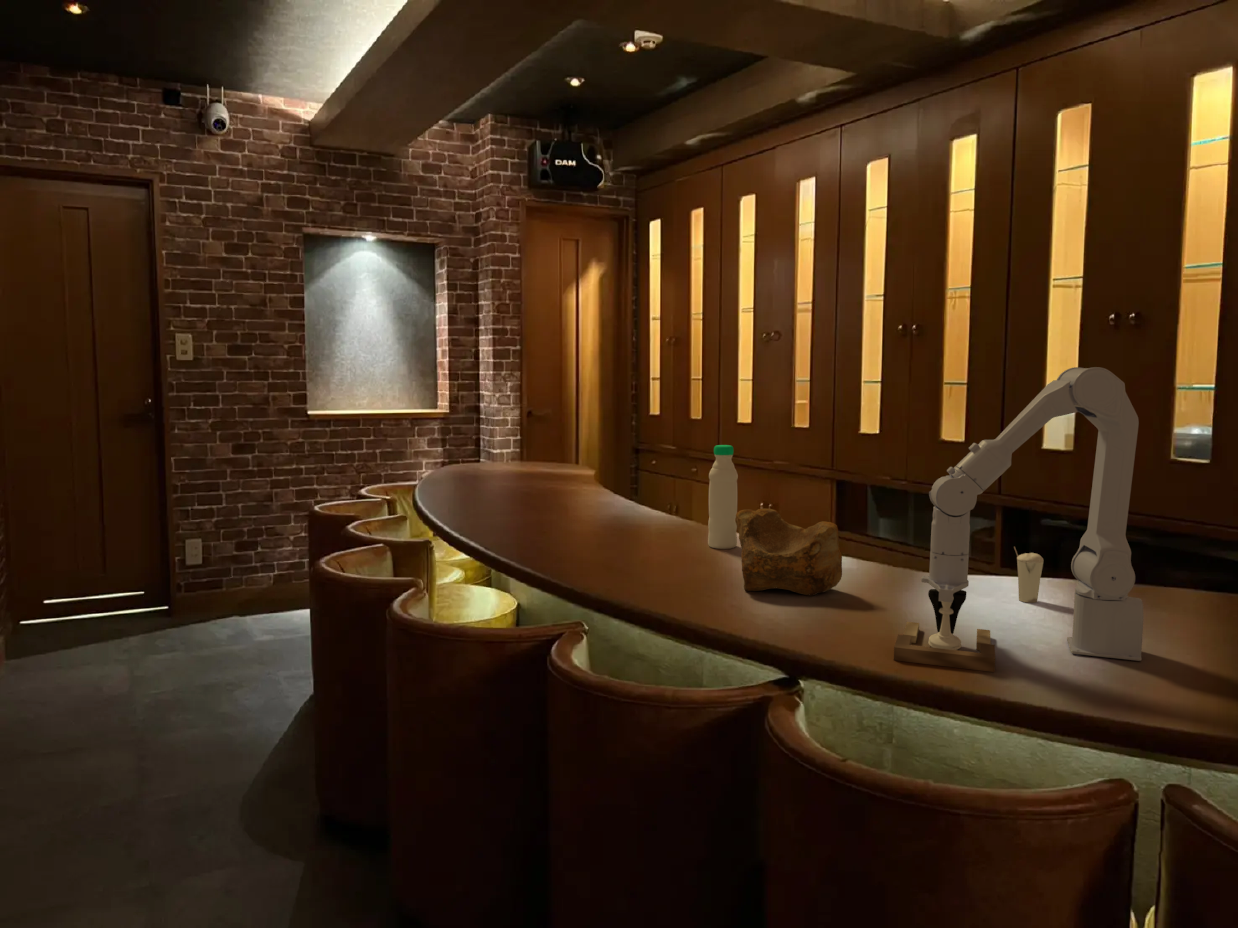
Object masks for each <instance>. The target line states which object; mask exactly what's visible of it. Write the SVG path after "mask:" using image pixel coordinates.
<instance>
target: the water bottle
mask: <svg viewBox="0 0 1238 928" xmlns="http://www.w3.org/2000/svg"><path fill="white" fill-rule="evenodd" d="M734 451H735V450H734V447H733V445H729V444H718V445H715V446H714V447H713V454H714V457H715V460H714V462H713V464H712V466H711V467H712V468H711V469H710V470H709V473H708V479H709V484H708V485H709V486H708V516H709V518H708V522H707V523H708V525H707V527H708V534H707V535H708V536H707V545H708V546H709V547H710V548H713V549H719V550H720V549H721V550H729V549H735V548H736V546H737V544H738V536H737V530H738V528H737V525H736V522H735V518H736V513H737V512H738V479H739V478H738V477H739V475H738V471H737V469H736V468H735V463H734V462H733V461H732V459H733V456H734Z"/></svg>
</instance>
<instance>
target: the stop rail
mask: <svg viewBox="0 0 1238 928" xmlns="http://www.w3.org/2000/svg"><path fill="white" fill-rule="evenodd" d="M911 638H912V636H908V635H903V634H897V637H896V640H895V643H894V648H893V661H898V662H907V663H915V664H921V665H922V664H923V665H931V666H932V665H934V666H942V667H947V668H958V669H965V670H966V669H967V670H975V671H983V672H989V673H990V672H993V673H995V669H996V646H995V644H992V643H991V644H982V643H980V650H979V652H974V651H967V650H966V651H964V650H959V649H958V650H949V649H941V648H933V647H931V646H930V647H929V646H921V645H914V644H913V645H912V643H911Z"/></svg>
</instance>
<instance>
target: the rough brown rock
mask: <svg viewBox="0 0 1238 928" xmlns="http://www.w3.org/2000/svg"><path fill="white" fill-rule="evenodd" d="M735 522H736V525H737V530H738V540H739V544H740V547H741V552H740V553H741V554H740V555H741V572H742V578H743V588H744V590H745V591H746V592H759V591H760V592H761V591H764V590H770V589H780V590H785V591H786V590H788V591H791V592H794V593H796V594H801V595H805V596H815V595H817V594H821V593H825V592H827V591H829V590H831V589H833V588H835V587H836V586H837V585H838V584H839V583H840V581H841V580H842V577H843V566H842V565H843V554H842V553H841V552H840V543H839V542H840V541H839V540H840V539H839V528H838V525H837V524H836V523H834V522H831V521H823V520H822V521H819V522H817V523H815V524H814V525H811V526H808V527H807V528H803V527H801V526H798V525H794V524H792V523H788V522H787V521H785V519H784V518H783V517H782V516H781V514H780V513H779V511H778V510H776V509H772V508H758V509H757V510H753V509H741V510H738V511H737V513H736V518H735Z"/></svg>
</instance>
